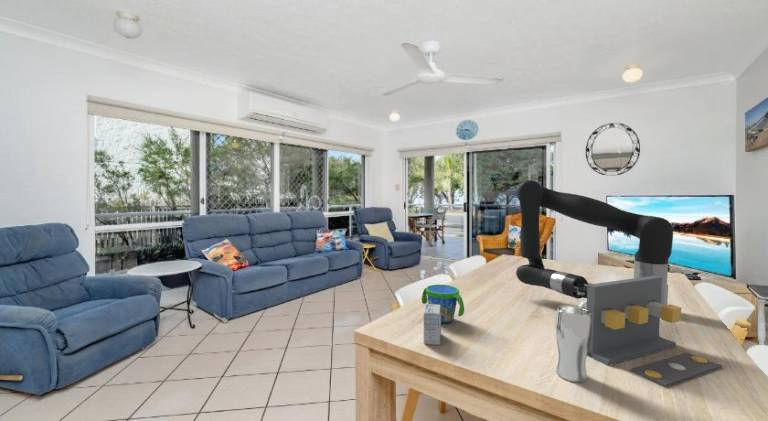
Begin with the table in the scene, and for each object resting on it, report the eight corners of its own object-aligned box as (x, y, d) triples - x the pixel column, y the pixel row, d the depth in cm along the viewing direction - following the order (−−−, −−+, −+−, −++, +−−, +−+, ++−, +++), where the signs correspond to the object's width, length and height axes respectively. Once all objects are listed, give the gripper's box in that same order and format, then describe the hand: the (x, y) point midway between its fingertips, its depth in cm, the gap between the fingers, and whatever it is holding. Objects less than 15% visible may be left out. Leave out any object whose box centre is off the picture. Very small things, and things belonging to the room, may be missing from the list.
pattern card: (686, 354, 85) (686, 351, 85) (721, 367, 79) (722, 364, 79) (630, 371, 77) (630, 367, 77) (665, 387, 71) (665, 383, 71)
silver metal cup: (547, 367, 78) (550, 305, 78) (575, 366, 79) (578, 304, 78) (566, 384, 71) (569, 316, 71) (597, 383, 72) (599, 315, 71)
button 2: (640, 309, 95) (640, 295, 95) (680, 321, 86) (681, 306, 86) (631, 311, 94) (631, 297, 94) (671, 323, 85) (672, 308, 85)
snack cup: (471, 324, 104) (472, 291, 104) (448, 331, 98) (448, 297, 98) (436, 309, 117) (436, 280, 116) (413, 315, 111) (414, 285, 110)
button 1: (588, 314, 91) (588, 300, 91) (625, 328, 82) (626, 312, 82) (577, 316, 89) (578, 301, 89) (614, 330, 80) (615, 314, 80)
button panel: (635, 332, 99) (638, 272, 98) (675, 346, 90) (679, 280, 89) (570, 347, 89) (573, 280, 88) (608, 365, 80) (611, 291, 79)
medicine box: (439, 346, 89) (440, 314, 89) (423, 344, 90) (423, 312, 90) (440, 333, 97) (441, 304, 96) (425, 332, 98) (425, 303, 97)
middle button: (610, 310, 94) (610, 296, 94) (648, 323, 85) (649, 307, 85) (600, 312, 93) (601, 298, 93) (638, 325, 84) (639, 309, 84)
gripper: (554, 275, 112) (606, 289, 96) (582, 271, 117) (635, 284, 101) (553, 297, 112) (605, 314, 96) (581, 292, 117) (634, 308, 101)
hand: (620, 299), depth 99 cm, fingers closed
